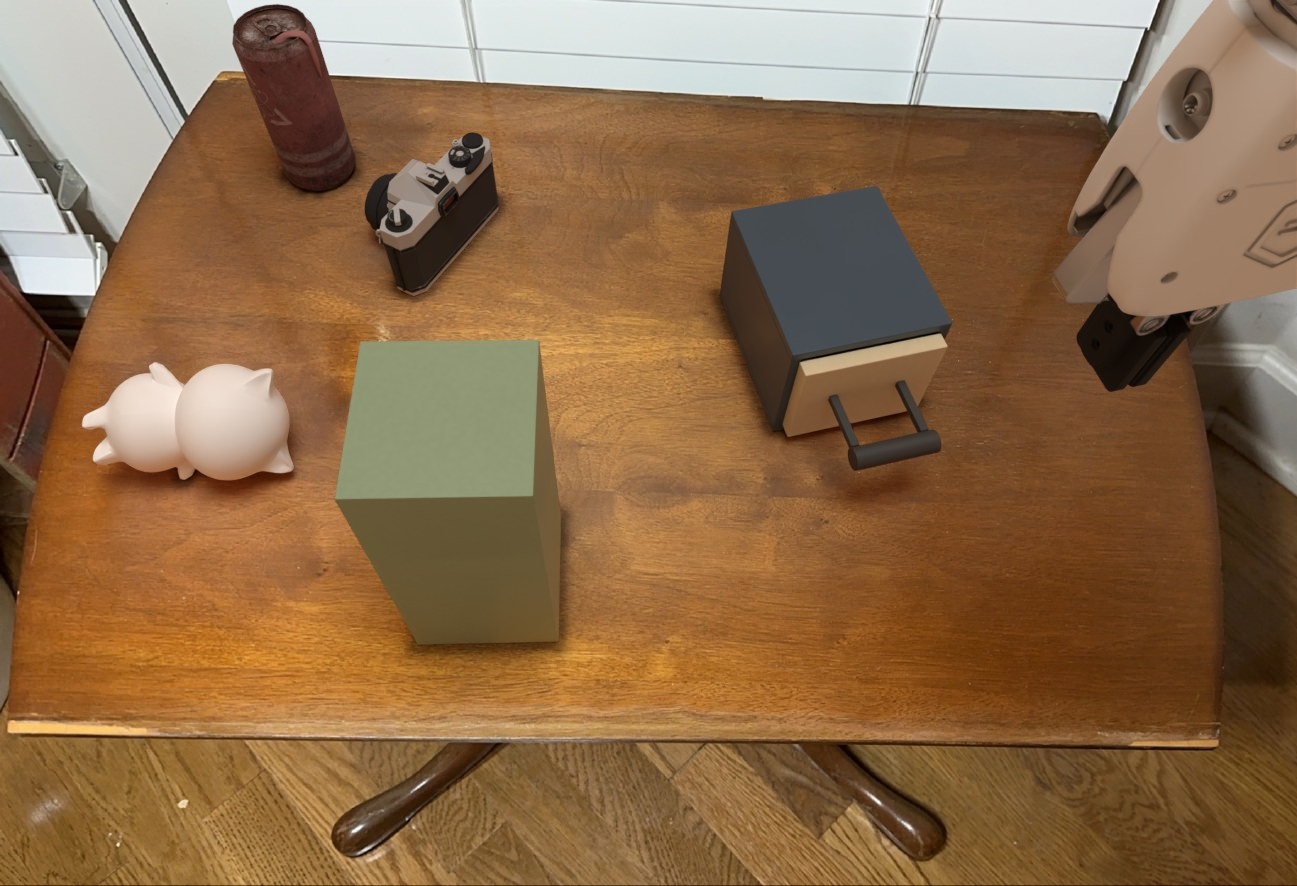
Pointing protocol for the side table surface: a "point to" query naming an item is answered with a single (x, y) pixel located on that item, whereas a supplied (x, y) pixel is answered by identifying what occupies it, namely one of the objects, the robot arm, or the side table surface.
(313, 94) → the can
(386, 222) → the camera
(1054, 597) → the side table surface
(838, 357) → the drawer
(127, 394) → the cat figurine
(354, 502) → the stand
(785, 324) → the cabinet
